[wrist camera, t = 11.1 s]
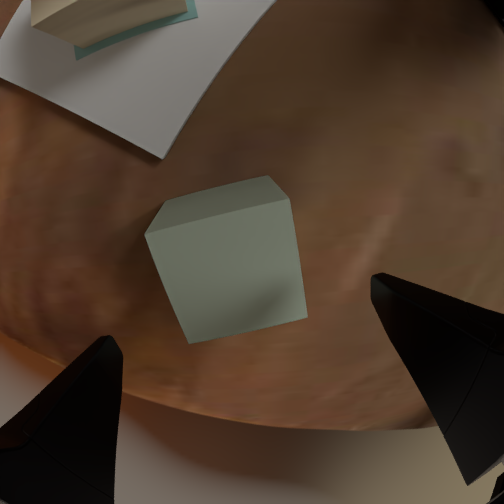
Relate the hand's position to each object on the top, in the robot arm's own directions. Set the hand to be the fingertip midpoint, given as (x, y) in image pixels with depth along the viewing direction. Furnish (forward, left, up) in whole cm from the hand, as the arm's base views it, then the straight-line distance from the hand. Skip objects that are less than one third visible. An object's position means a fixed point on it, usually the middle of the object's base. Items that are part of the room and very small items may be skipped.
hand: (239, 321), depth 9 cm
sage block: (0, 0, -8) cm, 8 cm away
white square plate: (-9, -12, -8) cm, 17 cm away
